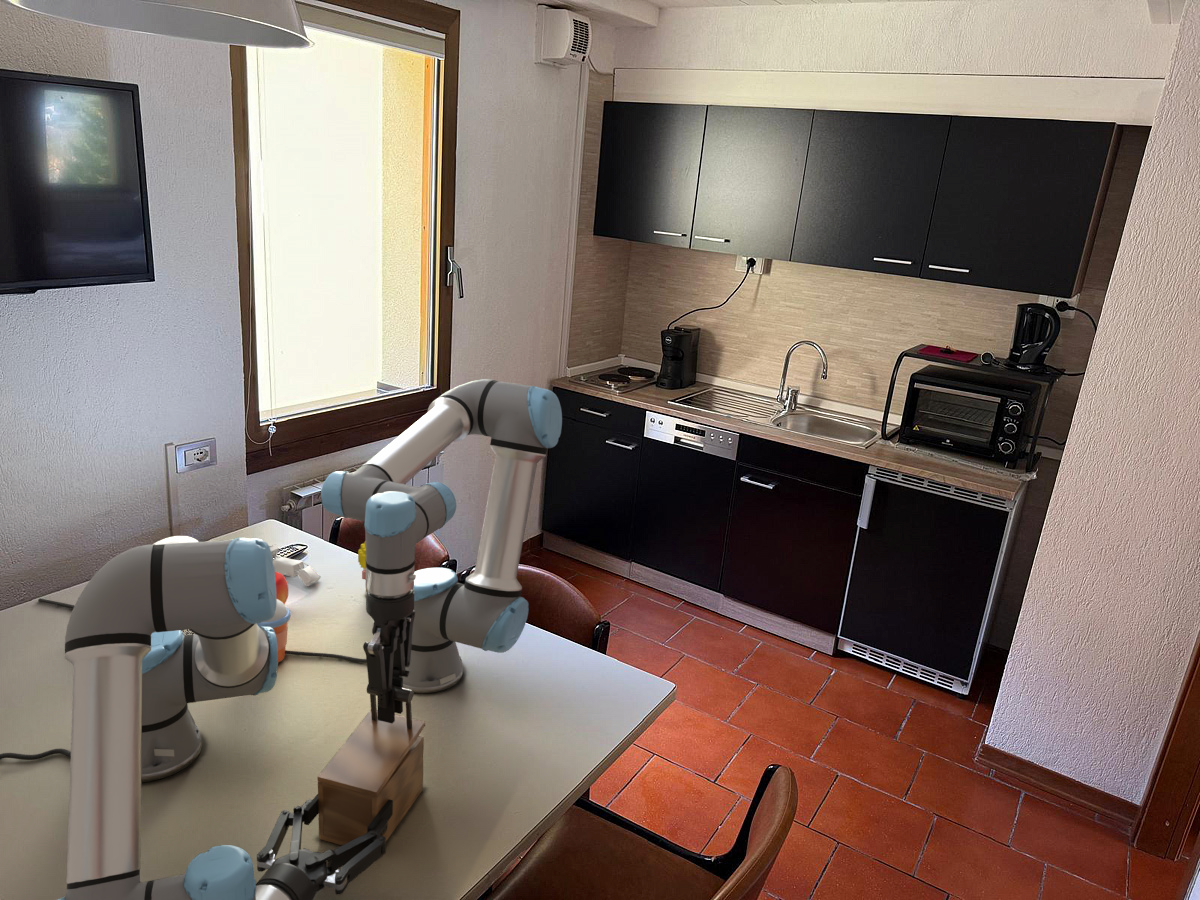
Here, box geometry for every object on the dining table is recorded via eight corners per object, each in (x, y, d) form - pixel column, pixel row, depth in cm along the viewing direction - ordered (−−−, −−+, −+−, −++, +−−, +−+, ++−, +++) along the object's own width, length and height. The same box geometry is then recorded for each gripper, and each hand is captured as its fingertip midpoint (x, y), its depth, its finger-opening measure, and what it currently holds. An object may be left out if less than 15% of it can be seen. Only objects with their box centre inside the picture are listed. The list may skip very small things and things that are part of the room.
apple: (273, 600, 207) (272, 562, 204) (297, 613, 202) (296, 575, 199) (237, 614, 200) (234, 575, 197) (261, 628, 194) (259, 588, 191)
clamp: (253, 565, 223) (254, 542, 221) (265, 560, 226) (266, 537, 224) (309, 593, 215) (310, 569, 213) (320, 588, 218) (321, 564, 216)
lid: (371, 712, 147) (369, 672, 144) (425, 725, 145) (424, 684, 142) (317, 781, 132) (313, 737, 129) (376, 797, 130) (373, 753, 127)
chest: (370, 776, 150) (370, 723, 147) (422, 790, 148) (423, 736, 145) (318, 839, 136) (317, 781, 132) (376, 855, 133) (376, 797, 130)
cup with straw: (277, 672, 178) (273, 594, 173) (237, 664, 180) (233, 587, 174) (300, 650, 187) (297, 576, 181) (262, 643, 188) (259, 569, 183)
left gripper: (203, 904, 119) (297, 801, 140) (350, 950, 114) (424, 835, 135) (200, 860, 117) (296, 762, 137) (349, 905, 112) (425, 796, 132)
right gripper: (388, 614, 127) (388, 748, 135) (433, 573, 142) (431, 695, 149) (343, 605, 129) (345, 737, 136) (392, 565, 143) (391, 686, 150)
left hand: (359, 798), depth 136 cm, fingers closed on chest, 10 cm apart
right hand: (390, 715), depth 142 cm, fingers closed on lid, 2 cm apart
